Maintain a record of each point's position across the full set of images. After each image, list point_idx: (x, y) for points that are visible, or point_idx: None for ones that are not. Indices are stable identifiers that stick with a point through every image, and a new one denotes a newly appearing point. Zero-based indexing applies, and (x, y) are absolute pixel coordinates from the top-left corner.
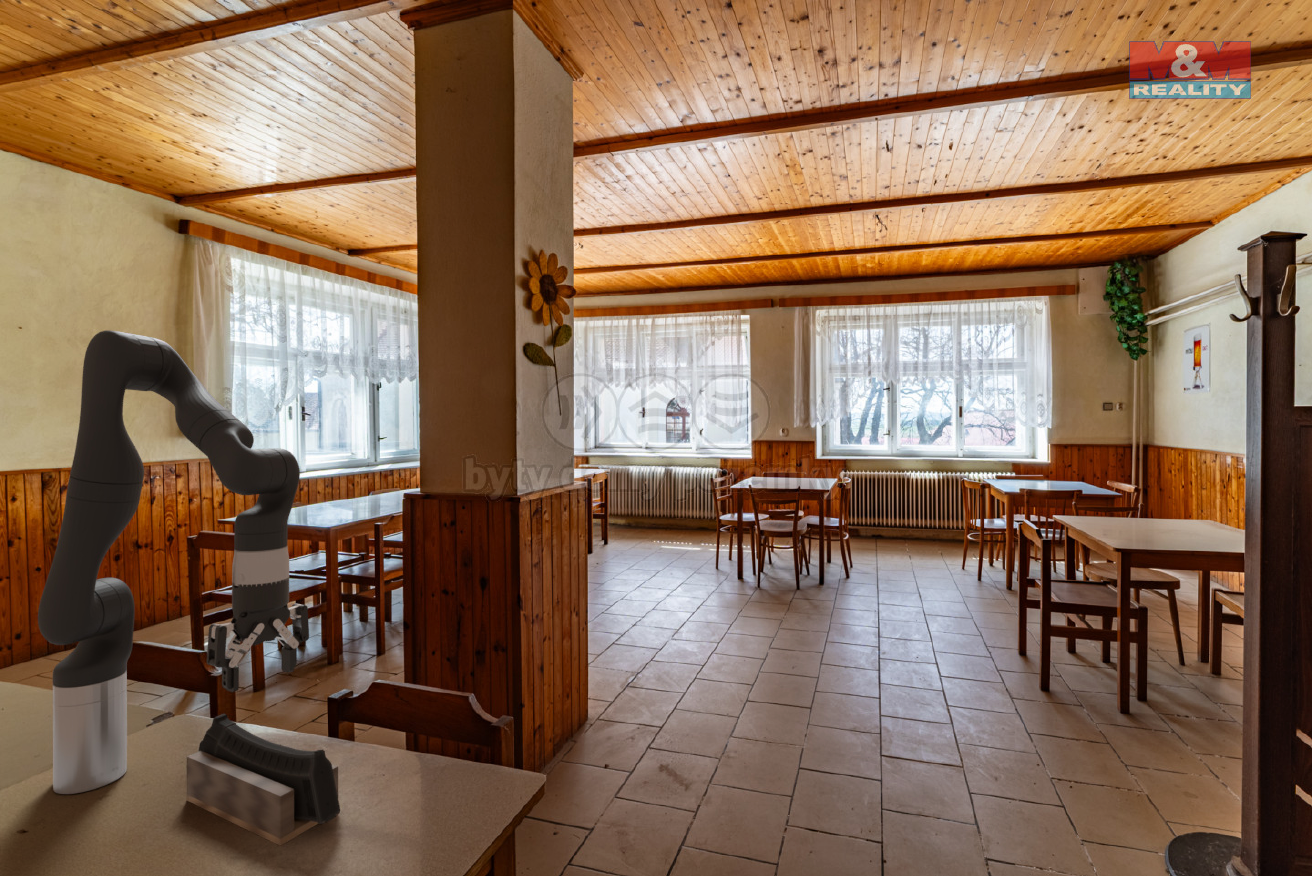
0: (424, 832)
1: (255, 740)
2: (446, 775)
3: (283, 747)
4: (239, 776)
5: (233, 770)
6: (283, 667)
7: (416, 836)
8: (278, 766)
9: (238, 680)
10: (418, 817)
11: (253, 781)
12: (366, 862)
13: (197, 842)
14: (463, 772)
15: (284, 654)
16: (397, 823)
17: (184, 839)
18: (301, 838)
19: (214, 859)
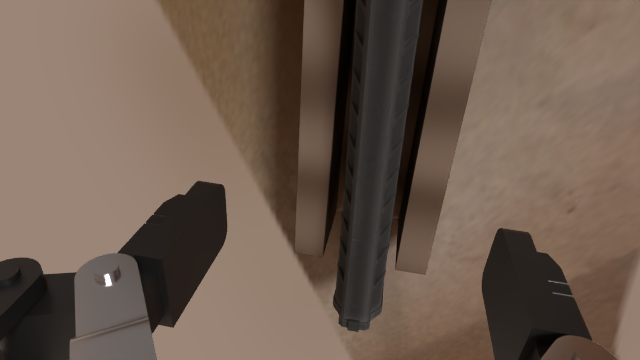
0: (419, 351)
1: (372, 96)
2: (589, 313)
3: (372, 203)
4: (306, 112)
5: (319, 68)
6: (497, 252)
7: (407, 346)
8: (345, 201)
9: (207, 269)
10: (449, 330)
11: (306, 161)
12: (338, 321)
13: (256, 58)
14: (606, 333)
15: (510, 320)
16: (425, 313)
17: (249, 23)
18: (341, 214)
19: (246, 133)
